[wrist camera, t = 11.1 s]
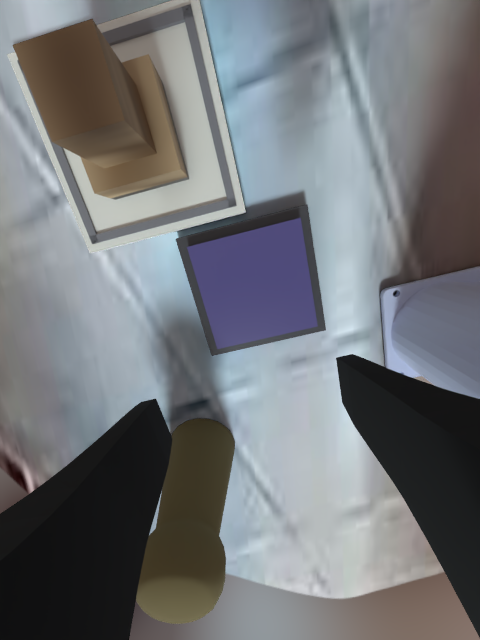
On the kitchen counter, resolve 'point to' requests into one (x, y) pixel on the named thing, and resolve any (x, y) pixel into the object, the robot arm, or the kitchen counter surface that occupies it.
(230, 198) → the board
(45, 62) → the stamp
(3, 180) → the kitchen counter surface
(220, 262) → the ink pad
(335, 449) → the kitchen counter surface
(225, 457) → the cork
